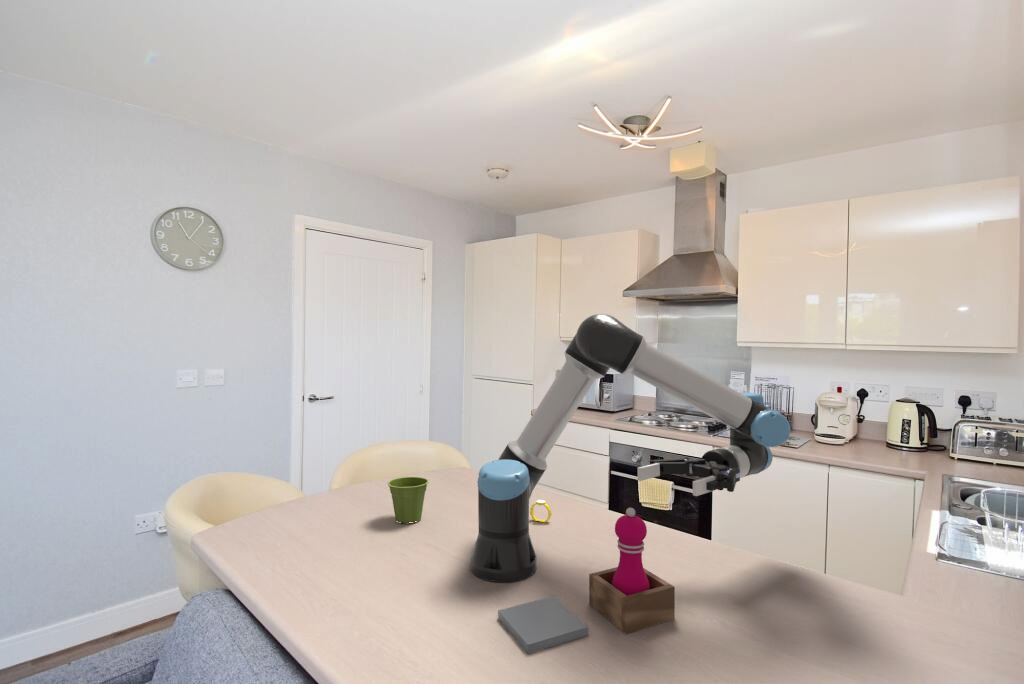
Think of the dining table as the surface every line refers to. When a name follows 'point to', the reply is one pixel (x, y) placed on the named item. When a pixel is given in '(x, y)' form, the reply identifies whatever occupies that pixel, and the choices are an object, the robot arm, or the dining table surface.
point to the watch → (542, 502)
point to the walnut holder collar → (632, 601)
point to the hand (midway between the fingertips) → (665, 481)
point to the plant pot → (408, 497)
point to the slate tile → (542, 624)
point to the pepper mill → (630, 554)
